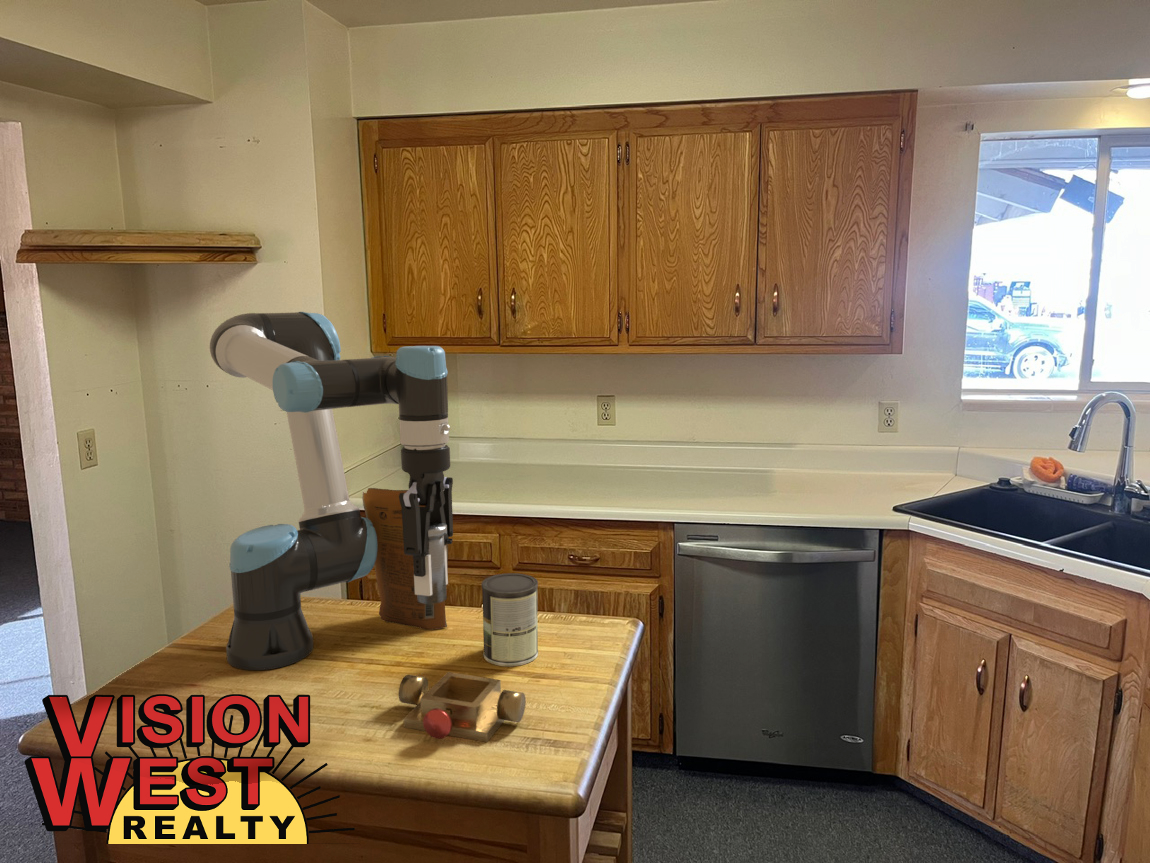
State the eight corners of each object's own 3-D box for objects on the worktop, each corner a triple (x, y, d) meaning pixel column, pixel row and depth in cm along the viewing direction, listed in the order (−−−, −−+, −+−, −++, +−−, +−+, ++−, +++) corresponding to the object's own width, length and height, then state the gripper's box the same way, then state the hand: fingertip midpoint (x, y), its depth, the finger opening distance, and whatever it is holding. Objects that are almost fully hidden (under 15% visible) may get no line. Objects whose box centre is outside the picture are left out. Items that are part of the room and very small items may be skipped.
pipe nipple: (407, 603, 129) (404, 529, 127) (424, 591, 134) (421, 520, 132) (439, 606, 127) (436, 531, 125) (455, 594, 132) (452, 522, 130)
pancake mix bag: (440, 636, 158) (441, 496, 155) (360, 620, 166) (359, 485, 162) (458, 625, 165) (459, 489, 161) (380, 610, 172) (380, 480, 168)
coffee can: (471, 656, 150) (469, 583, 148) (510, 638, 158) (509, 569, 156) (511, 672, 144) (510, 596, 142) (549, 652, 152) (549, 580, 150)
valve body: (378, 732, 124) (376, 701, 123) (423, 689, 138) (422, 660, 137) (499, 754, 118) (498, 721, 117) (534, 707, 132) (533, 677, 131)
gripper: (419, 456, 117) (426, 610, 121) (471, 437, 134) (476, 573, 137) (373, 454, 120) (381, 605, 123) (430, 436, 136) (436, 570, 140)
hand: (431, 588), depth 130 cm, fingers closed on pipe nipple, 5 cm apart
